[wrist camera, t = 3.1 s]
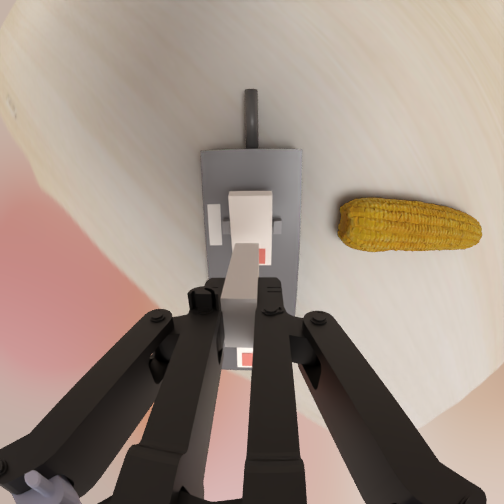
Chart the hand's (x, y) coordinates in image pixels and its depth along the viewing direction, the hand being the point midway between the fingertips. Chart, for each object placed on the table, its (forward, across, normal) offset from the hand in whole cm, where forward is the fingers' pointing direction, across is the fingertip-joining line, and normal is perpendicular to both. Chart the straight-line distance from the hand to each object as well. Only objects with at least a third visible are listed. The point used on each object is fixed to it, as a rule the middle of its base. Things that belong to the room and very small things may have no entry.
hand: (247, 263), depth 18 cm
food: (+13, +19, 0) cm, 23 cm away
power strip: (+13, 0, -3) cm, 13 cm away
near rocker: (+7, 0, 0) cm, 7 cm away
